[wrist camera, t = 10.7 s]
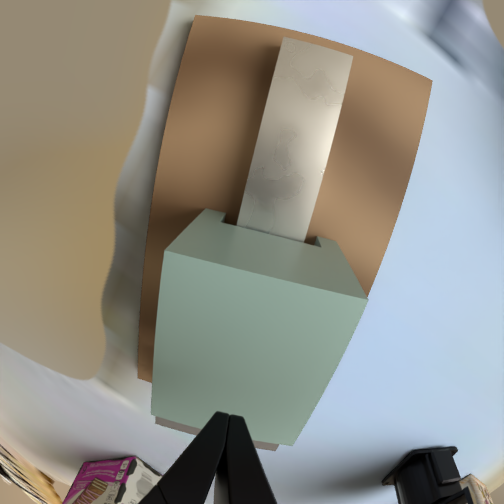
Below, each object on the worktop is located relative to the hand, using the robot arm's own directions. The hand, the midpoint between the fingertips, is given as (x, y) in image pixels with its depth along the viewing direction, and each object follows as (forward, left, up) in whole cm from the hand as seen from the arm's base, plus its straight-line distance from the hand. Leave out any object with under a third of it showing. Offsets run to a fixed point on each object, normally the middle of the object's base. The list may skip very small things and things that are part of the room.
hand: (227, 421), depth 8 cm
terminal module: (0, 0, -8) cm, 8 cm away
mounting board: (+2, 0, -9) cm, 10 cm away
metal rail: (+2, 0, -9) cm, 10 cm away
